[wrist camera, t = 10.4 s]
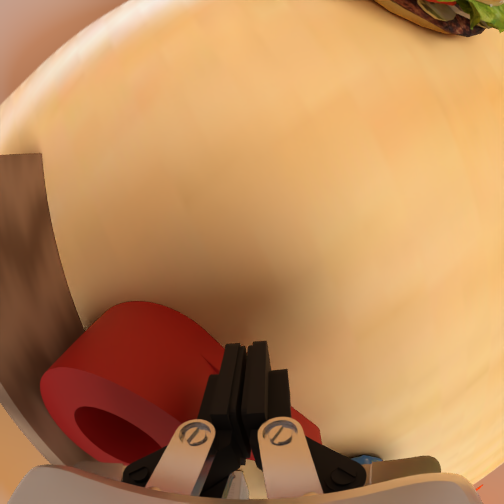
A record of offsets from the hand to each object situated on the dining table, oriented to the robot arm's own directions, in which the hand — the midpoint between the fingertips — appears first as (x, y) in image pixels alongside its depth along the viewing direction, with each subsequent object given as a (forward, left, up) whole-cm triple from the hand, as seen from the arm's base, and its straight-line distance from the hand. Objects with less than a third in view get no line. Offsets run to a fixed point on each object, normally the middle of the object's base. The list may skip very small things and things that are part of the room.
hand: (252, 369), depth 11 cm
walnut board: (0, +13, -4) cm, 13 cm away
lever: (-6, +4, -4) cm, 8 cm away
